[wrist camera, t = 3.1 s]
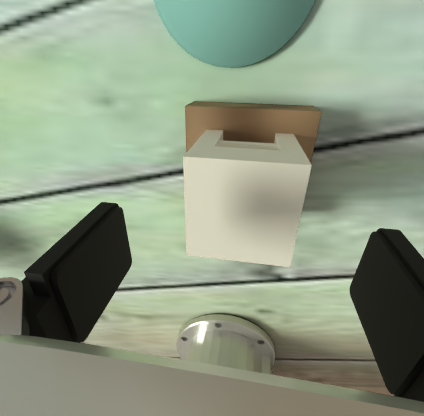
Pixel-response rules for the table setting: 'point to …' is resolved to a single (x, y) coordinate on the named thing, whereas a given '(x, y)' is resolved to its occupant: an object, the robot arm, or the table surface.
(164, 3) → the pad
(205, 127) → the brown panel
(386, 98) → the table surface
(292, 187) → the cream notched block
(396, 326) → the robot arm
